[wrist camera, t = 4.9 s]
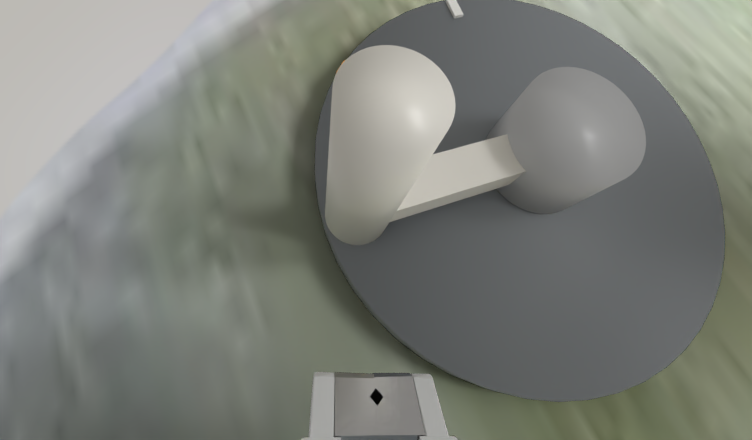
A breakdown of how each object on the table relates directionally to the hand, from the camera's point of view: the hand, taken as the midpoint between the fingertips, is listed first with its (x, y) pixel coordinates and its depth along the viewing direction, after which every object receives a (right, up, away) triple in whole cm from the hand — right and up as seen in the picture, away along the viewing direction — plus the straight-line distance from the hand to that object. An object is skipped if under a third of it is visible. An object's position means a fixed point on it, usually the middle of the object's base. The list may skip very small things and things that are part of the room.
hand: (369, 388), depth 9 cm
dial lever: (+5, +6, +10) cm, 12 cm away
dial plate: (+9, +7, +12) cm, 17 cm away
